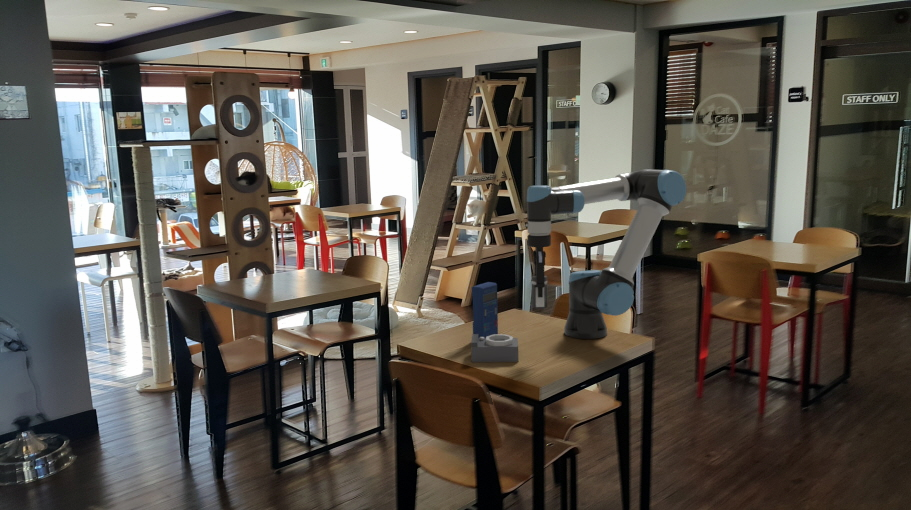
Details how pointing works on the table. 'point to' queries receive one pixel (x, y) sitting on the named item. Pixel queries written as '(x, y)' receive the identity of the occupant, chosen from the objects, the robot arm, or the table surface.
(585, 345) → the table surface
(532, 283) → the lens
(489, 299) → the electronic device
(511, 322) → the table surface
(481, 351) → the camera body
